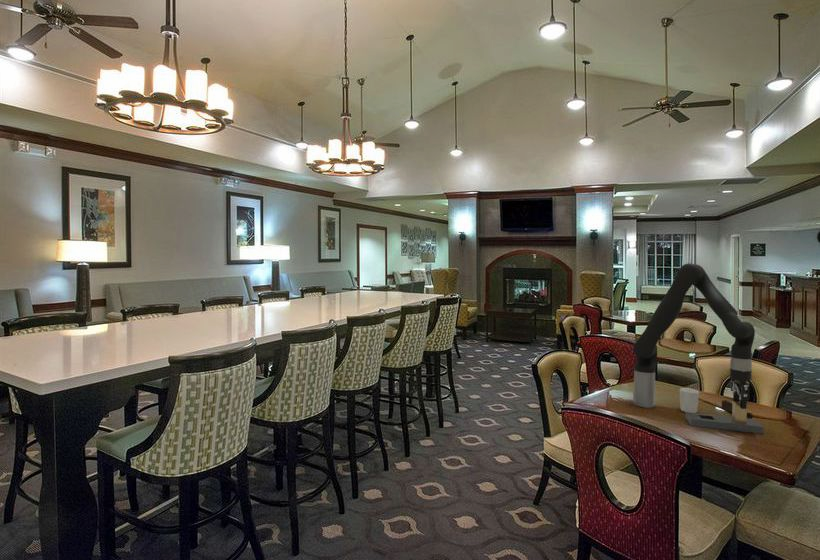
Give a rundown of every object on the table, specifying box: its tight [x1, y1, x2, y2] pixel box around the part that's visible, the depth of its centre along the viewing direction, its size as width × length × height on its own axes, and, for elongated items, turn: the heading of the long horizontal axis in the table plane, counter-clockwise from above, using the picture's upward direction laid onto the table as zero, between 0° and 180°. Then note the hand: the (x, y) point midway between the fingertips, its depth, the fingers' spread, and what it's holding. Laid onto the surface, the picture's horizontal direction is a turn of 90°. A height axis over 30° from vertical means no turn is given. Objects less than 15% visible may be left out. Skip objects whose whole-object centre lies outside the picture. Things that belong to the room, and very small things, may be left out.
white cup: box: [679, 387, 700, 413], centre depth 214 cm, size 8×8×10 cm
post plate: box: [685, 412, 764, 435], centre depth 194 cm, size 26×10×3 cm, turn 70°
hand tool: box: [721, 399, 754, 419], centre depth 209 cm, size 19×4×5 cm, turn 173°
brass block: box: [731, 400, 748, 423], centre depth 192 cm, size 4×4×8 cm
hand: (739, 405), depth 192 cm, fingers open, 8 cm apart
